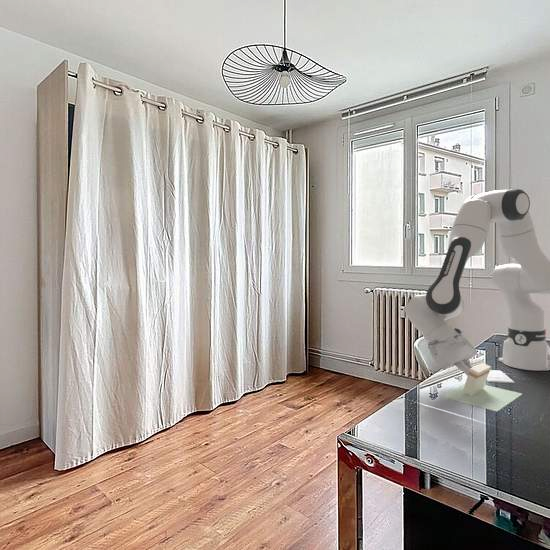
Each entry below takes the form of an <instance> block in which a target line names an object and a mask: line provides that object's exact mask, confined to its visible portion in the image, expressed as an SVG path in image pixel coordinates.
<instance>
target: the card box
mask: <svg viewBox="0 0 550 550" xmlns="http://www.w3.org/2000/svg"><path fill="white" fill-rule="evenodd" d="M491 369H492V368H491V365H488V364H487V363H483V362H481V363H479V364H477V365H475V366H472V368H470V371H469V373H468V376H467V377H466V379H465V383H464V384H465V386H464V389H463V392H464V393H466V394H468V395H470V396H472V395H474V394H476V393H477V392H479V391H481V390H483V389H484V386H485V385H486V383H487V377H488V374H489V372H490V370H491Z"/></svg>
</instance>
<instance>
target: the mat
mask: <svg viewBox="0 0 550 550" xmlns="http://www.w3.org/2000/svg"><path fill="white" fill-rule="evenodd" d="M464 386H465V383H463V384H461V385H459V386H458V387H455V388H453V389H451V390H449V391H447V392H445V393H443V394H442V395H440V397H442V398H446V399H450V400H453V401H457V402H460V403H463V404H468V405H471V406H475V407H479V408H482V409H485V410H490V411H493V412H499V411H501V410H502V409H503V408H505V407H507V405H509V404H510V403H512V402H513V401H515V400H516V399H518V398H519V397H520V396H522V395H523V393H522V392H518V391H512V390H509V389H504V388H500V387H495V386H491V385H487V384H485V386H484V389H483V390H481V391H479V392H477V393H476V394H474V395H472V396H470V395H468V394H466V393H464V392H463V389H464Z"/></svg>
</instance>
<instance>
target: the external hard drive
mask: <svg viewBox="0 0 550 550" xmlns="http://www.w3.org/2000/svg"><path fill="white" fill-rule="evenodd" d="M486 382H488V383H496V384H497V383H498V384H499V383H501V384H502V383H503V384H516V382H515V381H514V380H513V379H511V378H510V377H509V376H508V375H507V374H505V373H504V372H503V371H502V370H498V369H495V370H493V369H490V372H489V374H488V377H487V380H486Z"/></svg>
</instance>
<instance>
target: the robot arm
mask: <svg viewBox="0 0 550 550" xmlns="http://www.w3.org/2000/svg"><path fill="white" fill-rule="evenodd" d="M530 206H531V202H530V196H529V195H528V194H527V193H526V192H525V191H524V189H519V188H508V189H499V190H496V189H495V190H491V191H488V192H484V193H480V194H479V193H477V194H473V195H471V196H469V197H467V198H466V199H465V201H464V202H463V203H462V205H461V206H460V208H459V210H458V212H457V214H456V216H455V219H454V221H453V225H452V227H451V231H450V235H449V238H448V246H447V252H446V254H445V258H444V259H443V263H442V266H441V268H440V271H439V274H438V276H437V278H436V279H435V281H434V282H433V283H432V284H431V285H430V286H429V287H428V289H427V291H426V294H415V295H414V296H412V297H411V298H410V299H409V300H408V301H407V303H406V305H405V308H404V312H405V314H406V316H407V318H408V320H409V321H410V323H411V324H412V326H414V328H415V329H416V330H417V331H419V332H420V333H421V335H422V337H423V339H424V340H425V341H426V342H427V348H428V349H429V353H430V356H431V357H432V358H433V360H434V362H435V363H436V364H437V365H438V367H439V368H440V369H441V370H443V371H446V370H447V369H451V368H453V367H455V366H456V368H458V369H459V370H460V371H461V372H463V373H464V374H465V375H466V376H467V377H468V373H469V371H470V368H472V367H473V365H472V363H471V361H470V360H472V359H473V358H474V357H475V356H477V355H478V351H477V349H476V347H475V346H474V345H473V344H472V342H471V341H470V340H469V339H468V338H467V337H466V336H464V335H463V334H464V333H463V331H462V330H461V328H458V327H454V326H451V325H449V323H447V322H448V321H449V320H451V319H453V318H455V317H457V316H458V315H460V314H461V313H462V312H463V310H464V307H465V306H464V305H465V304H464V300H463V297H462V296H461V291H460V282H461V279H462V276H463V274H464V270H465V267H466V264H467V262H468V260H469V259H470V258H471V257H474V256H475V255H478V254H479V253H480V252H481V250H482V248H483V245H484V244H485V242H486V239H487V237H488V232H489V230H490V224H495V223H496V224H497V229H498V234H499V239H500V243H501V246H502V252H503V254H504V255H505V256H507V257H508V258H510V259H512V260H513V261H515V262H516V263H506V264H500V265H497V266H496V267H495V268H494V269H493V271H492V273H491V282H492V284H493V286H494V287H495V288H496V289H498V290H499V291H500V293H501V294H502V296H503V297H504V299H505V301H506V303H507V306H508V315H509V316H508V317H509V321H508V323H509V325H508V326H509V327H508V328H507V339H505V340H504V341H503V348H502V357H498V361H499V362H501V363H503V364H504V365H506V366H508V367H511V368H515V369H519V370H525V371H549V370H550V345H549V344H548V342H547V341H546V339H547V338H546V334H547V330H546V328H545V310H544V309H543V307H542V306H541V305H540V304H537V303H536V302H534V300H533V299H532V298H531V295H530V294H542V295H547V294H548V295H549V294H550V258H548V257H547V256H546V254H545V253H544V251H543V250H542V249H541V247H540V244H539V242H538V239H537V235H536V230H535V226H534V222H533V219H532V215H531V214H530V211H529V209H530ZM446 321H447V322H446Z"/></svg>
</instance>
